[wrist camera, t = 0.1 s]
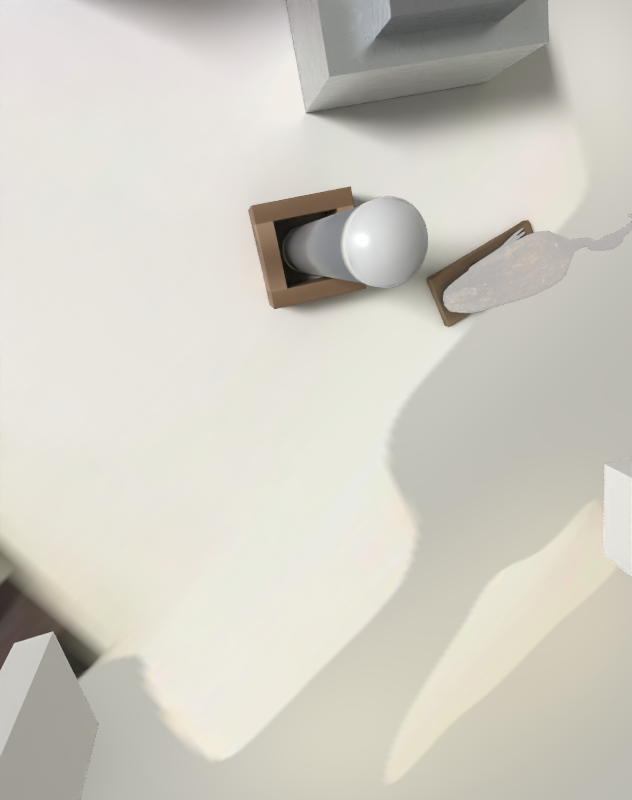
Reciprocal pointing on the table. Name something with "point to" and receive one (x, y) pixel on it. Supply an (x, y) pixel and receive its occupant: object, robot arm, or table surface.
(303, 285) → the wooden square hollow frame
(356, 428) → the table surface
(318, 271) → the grey tube
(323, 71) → the grey box with opening
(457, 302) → the figurine
